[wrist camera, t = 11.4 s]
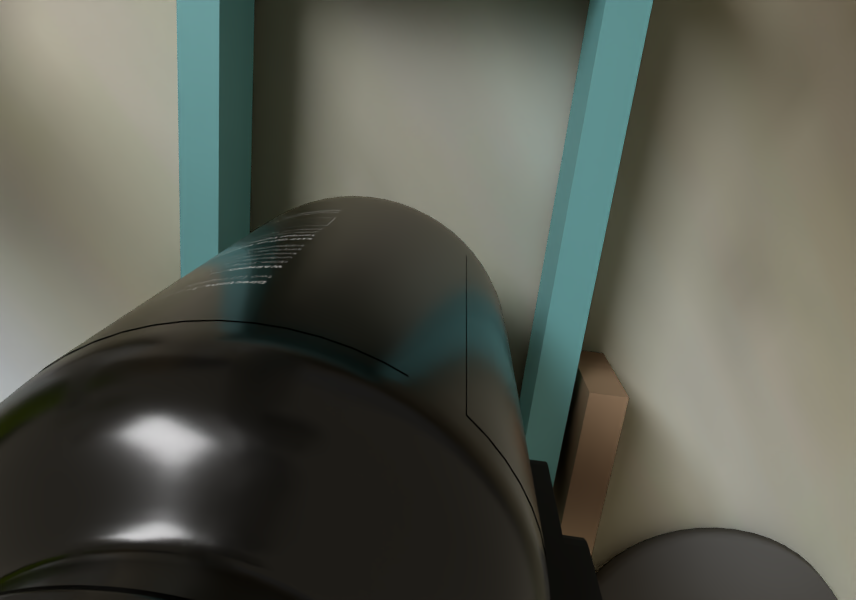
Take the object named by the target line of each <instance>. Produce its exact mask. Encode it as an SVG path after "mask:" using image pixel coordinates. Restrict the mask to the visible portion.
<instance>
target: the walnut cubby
mask: <svg viewBox="0 0 856 600" xmlns="http://www.w3.org/2000/svg"><path fill="white" fill-rule="evenodd" d="M628 400H629V397H628V395H627V393H626V392H625V390H624V388H623V387H622V385H621V383H620V381H619V380H618V378H617V376H616V374H615V373H614V371H613V369H612V368H611V366H610V364H609V362H608V361H607V359H606V357H605V355H604V354H603V353H596V352H588V351H581V354H580V359H579V363H578V368H577V373H576V378H575V383H574V388H573V393H572V398H571V402H570V407H569V412H568V417H567V422H566V427H565V432H564V436H563V441H562V446H561V451H560V456H559V461H558V466H557V470H556V475H555V480H554V485H553V491H554V496H555V501H556V506H557V511H558V516H559V520H560V525H561V530H562V535H567V536H575V537H582V538H584V539H585V540H586V541H587V544H588V546H589V550H590V554H591V556H592V551H593V547H594V543H595V539H596V535H597V530H598V526H599V522H600V518H601V514H602V509H603V505H604V501H605V497H606V493H607V488H608V484H609V480H610V476H611V472H612V467H613V463H614V459H615V455H616V451H617V446H618V442H619V438H620V434H621V430H622V425H623V421H624V417H625V413H626V409H627V404H628Z"/></svg>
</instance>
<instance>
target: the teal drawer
mask: <svg viewBox="0 0 856 600" xmlns="http://www.w3.org/2000/svg"><path fill="white" fill-rule="evenodd" d="M254 2H255V0H177V60H178V126H179V191H180V257H181V278H182V277H184V276H185V275H187V274H189V273H190V272H192V271H193V270H195V269H196V268H198V267H199V266H201V265H202V264H204V263H205V262H207V261H208V260H210V259H211V258H213V257H215V256H216V255H218V254H219V253H221V252H222V251H224V250H225V249H227V248H228V247H230V246H231V245H233V244H234V243H236V242H237V241H239V240H241V239H242V238H244V237H245V236H247V235H248V234H250V193H251V146H252V98H253V50H254ZM652 4H653V0H590V3H589V8H588V14H587V20H586V25H585V31H584V37H583V42H582V48H581V54H580V59H579V65H578V71H577V76H576V82H575V88H574V93H573V99H572V105H571V110H570V116H569V122H568V127H567V133H566V139H565V144H564V150H563V156H562V161H561V167H560V173H559V178H558V184H557V190H556V195H555V201H554V207H553V213H552V218H551V224H550V230H549V235H548V241H547V247H546V252H545V258H544V264H543V269H542V275H541V281H540V286H539V292H538V298H537V303H536V309H535V315H534V320H533V326H532V332H531V337H530V343H529V349H528V354H527V360H526V366H525V371H524V377H523V383H522V388H521V394H520V400H519V403H520V409H521V415H522V420H523V426H524V432H525V437H526V443H527V448H528V454H529V459H531V460H538V461H546V462H547V464H548V467H549V472H550V477H551V482H552V487H553V485H554V480H555V475H556V470H557V466H558V461H559V456H560V451H561V446H562V441H563V436H564V432H565V427H566V422H567V417H568V412H569V407H570V402H571V398H572V393H573V388H574V383H575V378H576V373H577V368H578V363H579V359H580V354H581V349H582V344H583V339H584V334H585V329H586V325H587V320H588V315H589V310H590V305H591V300H592V295H593V291H594V286H595V281H596V276H597V271H598V266H599V261H600V256H601V252H602V247H603V242H604V237H605V232H606V227H607V222H608V218H609V213H610V208H611V203H612V198H613V193H614V188H615V184H616V179H617V174H618V169H619V164H620V159H621V154H622V149H623V145H624V140H625V135H626V130H627V125H628V120H629V115H630V111H631V106H632V101H633V96H634V91H635V86H636V81H637V77H638V72H639V67H640V62H641V57H642V52H643V47H644V42H645V38H646V33H647V28H648V23H649V18H650V13H651V8H652Z"/></svg>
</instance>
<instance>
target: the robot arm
mask: <svg viewBox="0 0 856 600" xmlns="http://www.w3.org/2000/svg"><path fill="white" fill-rule="evenodd" d="M529 460H530V465H531V471H532V476H533V482H534V488H535V493H536V499H537V505H538V510H539V516H540V522H541V527H542V533H543V539H544V544H545V551H546V559H547V569H548V577H549V587H550V597H551V600H602V596H601V592H600V588H599V584H598V580H597V577H596V573H595V569H594V565H593V561H592V557H591V554H590V550H589V546H588V544H587V541H586V540H585V539H584V538H582V537H575V536H567V535H562V530H561V525H560V520H559V516H558V511H557V506H556V501H555V496H554V491H553V487H552V482H551V477H550V472H549V467H548V464H547V462H546V461H538V460H531V459H529Z"/></svg>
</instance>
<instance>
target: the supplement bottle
mask: <svg viewBox="0 0 856 600" xmlns="http://www.w3.org/2000/svg"><path fill="white" fill-rule="evenodd" d="M0 600H551V597H550V587H549V577H548V569H547V559H546V551H545V544H544V539H543V533H542V527H541V522H540V516H539V510H538V505H537V499H536V493H535V488H534V482H533V476H532V471H531V465H530V460H529V454H528V448H527V443H526V437H525V432H524V426H523V420H522V415H521V409H520V403H519V398H518V392H517V387H516V381H515V375H514V370H513V364H512V359H511V353H510V347H509V342H508V336H507V331H506V327H505V322H504V318H503V314H502V309H501V305H500V302H499V299H498V296H497V293H496V291H495V289H494V287H493V284H492V282H491V280H490V278H489V276H488V274H487V272H486V271H485V269H484V267H483V266H482V264H481V263H480V261H479V260H478V259H477V257H476V256H475V254H474V253H473V252H472V251H471V250H470V249H469V247H468V246H467V245H466V244H465V243H464V242H463V241H462V240H461V239H460V238H459V237H458V236H457V235H455V234H454V233H453V232H452V231H451V230H449V229H448V228H447V227H445V226H444V225H443V224H441V223H440V222H438V221H437V220H435V219H433V218H432V217H430V216H428V215H426V214H424V213H422V212H420V211H418V210H416V209H414V208H411V207H409V206H406V205H403V204H400V203H397V202H393V201H389V200H385V199H379V198H373V197H362V196H344V197H334V198H327V199H322V200H318V201H314V202H310V203H307V204H304V205H302V206H299V207H296V208H293V209H291V210H289V211H287V212H285V213H283V214H281V215H279V216H278V217H276V218H274V219H273V220H271V221H269V222H267V223H266V224H264V225H262V226H261V227H259V228H258V229H256V230H254V231H253V232H251V233H250V234H248V235H247V236H245V237H244V238H242V239H241V240H239V241H237V242H236V243H234V244H233V245H231V246H230V247H228V248H227V249H225V250H224V251H222V252H221V253H219V254H218V255H216V256H215V257H213V258H211V259H210V260H208V261H207V262H205V263H204V264H202V265H201V266H199V267H198V268H196V269H195V270H193V271H192V272H190V273H189V274H187V275H185V276H184V277H182V278H181V279H179V280H178V281H176V282H175V283H173V284H172V285H170V286H169V287H167V288H166V289H164V290H162V291H161V292H159V293H158V294H156V295H155V296H153V297H152V298H150V299H149V300H147V301H146V302H144V303H143V304H141V305H140V306H138V307H136V308H135V309H133V310H132V311H130V312H129V313H127V314H126V315H124V316H123V317H121V318H120V319H118V320H117V321H115V322H113V323H112V324H110V325H109V326H107V327H106V328H104V329H103V330H101V331H100V332H98V333H97V334H95V335H94V336H92V337H91V338H89V339H87V340H86V341H84V342H83V343H81V344H80V345H78V346H77V347H75V348H74V349H72V350H71V351H69V352H68V353H66V354H65V355H63V356H62V357H60V358H59V359H57V360H56V361H54V362H53V363H51V364H50V365H48V366H47V367H45V368H44V369H43V370H42V371H40V372H39V373H38V374H37V375H35V376H34V377H32V378H31V379H30V380H29V381H27V382H26V383H25V384H23V385H22V386H21V387H20V388H18V389H17V390H16V391H15V392H13V393H12V394H11V395H10V396H9V397H7V398H6V399H5V400H4V401H2V402H1V403H0Z"/></svg>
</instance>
